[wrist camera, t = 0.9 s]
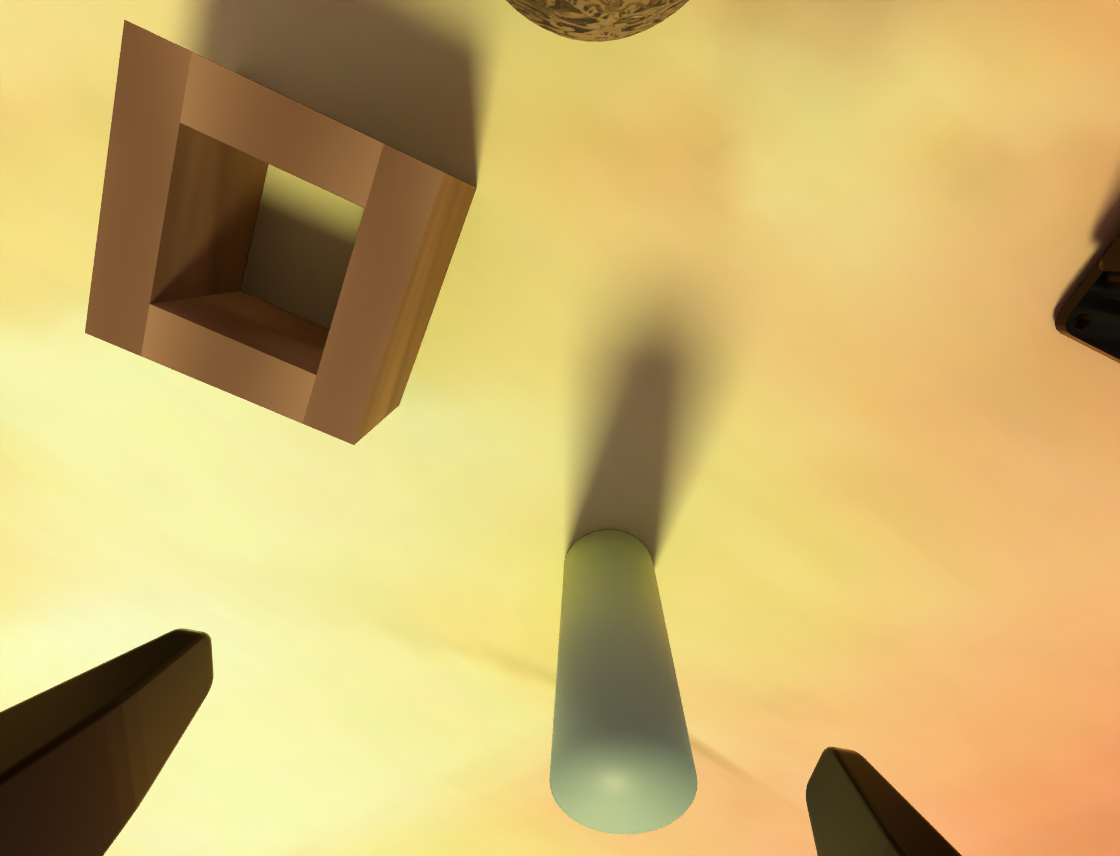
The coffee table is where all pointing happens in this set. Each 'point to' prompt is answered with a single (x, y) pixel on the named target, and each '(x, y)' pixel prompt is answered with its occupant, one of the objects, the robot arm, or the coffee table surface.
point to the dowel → (617, 694)
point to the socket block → (226, 230)
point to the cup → (596, 16)
